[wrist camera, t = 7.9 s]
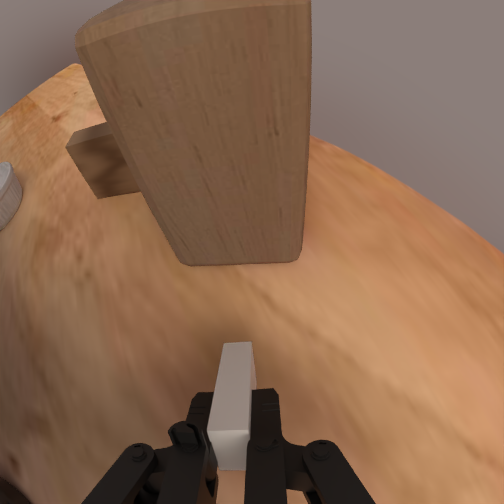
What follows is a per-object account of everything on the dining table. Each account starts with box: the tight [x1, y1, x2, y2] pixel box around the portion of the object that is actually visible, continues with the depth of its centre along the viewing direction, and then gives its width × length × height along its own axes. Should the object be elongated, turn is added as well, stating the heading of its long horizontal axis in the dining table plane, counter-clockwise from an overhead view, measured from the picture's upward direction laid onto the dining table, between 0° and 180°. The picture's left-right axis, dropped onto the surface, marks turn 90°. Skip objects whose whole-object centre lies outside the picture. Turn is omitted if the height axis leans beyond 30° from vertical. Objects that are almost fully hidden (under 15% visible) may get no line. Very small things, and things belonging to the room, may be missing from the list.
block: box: [75, 0, 312, 266], centre depth 18 cm, size 10×10×20 cm
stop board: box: [65, 122, 141, 199], centre depth 27 cm, size 22×2×8 cm, turn 92°
